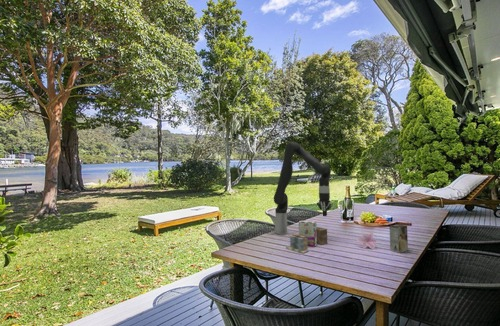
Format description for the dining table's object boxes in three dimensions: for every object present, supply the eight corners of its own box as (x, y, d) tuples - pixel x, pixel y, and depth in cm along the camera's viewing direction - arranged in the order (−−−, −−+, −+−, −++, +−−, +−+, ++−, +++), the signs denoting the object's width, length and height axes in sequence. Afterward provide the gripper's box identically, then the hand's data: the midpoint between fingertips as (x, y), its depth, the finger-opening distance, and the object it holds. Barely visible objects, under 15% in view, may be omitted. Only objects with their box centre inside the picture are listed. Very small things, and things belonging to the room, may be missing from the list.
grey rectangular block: (286, 248, 190) (285, 234, 190) (312, 241, 207) (312, 228, 207) (303, 253, 178) (302, 238, 178) (329, 245, 195) (329, 231, 195)
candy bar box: (317, 245, 192) (316, 221, 192) (314, 247, 188) (314, 222, 188) (301, 243, 198) (301, 219, 198) (298, 245, 193) (298, 221, 193)
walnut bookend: (308, 241, 202) (307, 227, 202) (313, 239, 205) (313, 226, 205) (321, 245, 192) (321, 230, 192) (327, 243, 196) (327, 229, 196)
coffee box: (398, 248, 186) (398, 223, 186) (408, 250, 181) (407, 225, 181) (389, 250, 182) (389, 225, 182) (398, 253, 176) (398, 227, 176)
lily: (354, 247, 192) (355, 237, 187) (362, 238, 199) (364, 228, 194) (371, 256, 184) (373, 246, 180) (379, 246, 191) (381, 236, 187)
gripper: (335, 192, 201) (335, 216, 201) (320, 191, 211) (320, 214, 211) (328, 193, 196) (329, 218, 196) (313, 191, 207) (314, 215, 207)
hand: (324, 216), depth 204 cm, fingers closed
